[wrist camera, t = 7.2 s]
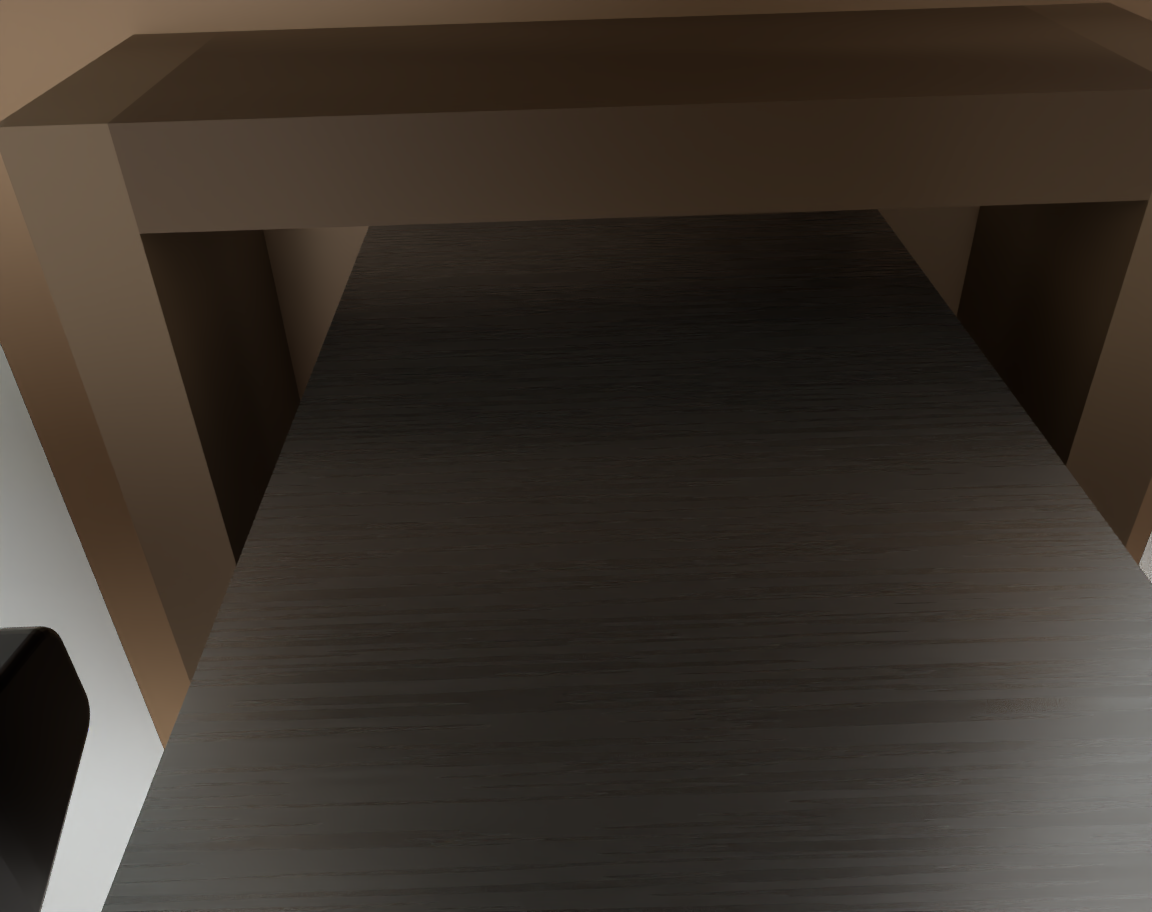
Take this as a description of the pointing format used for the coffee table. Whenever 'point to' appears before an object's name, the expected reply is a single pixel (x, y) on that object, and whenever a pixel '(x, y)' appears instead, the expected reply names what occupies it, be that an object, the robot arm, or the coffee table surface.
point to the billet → (660, 602)
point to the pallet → (523, 213)
